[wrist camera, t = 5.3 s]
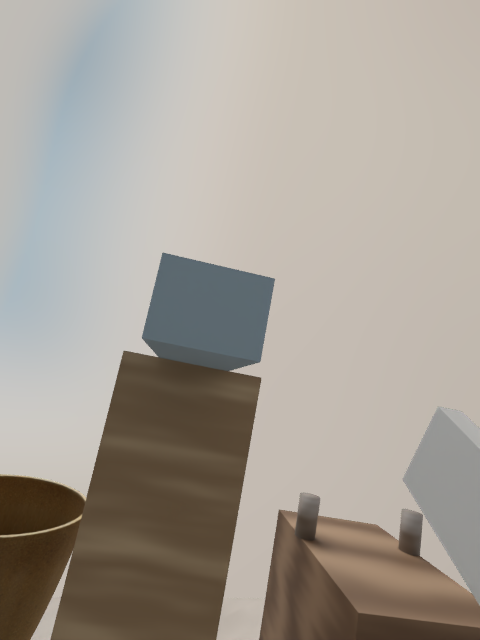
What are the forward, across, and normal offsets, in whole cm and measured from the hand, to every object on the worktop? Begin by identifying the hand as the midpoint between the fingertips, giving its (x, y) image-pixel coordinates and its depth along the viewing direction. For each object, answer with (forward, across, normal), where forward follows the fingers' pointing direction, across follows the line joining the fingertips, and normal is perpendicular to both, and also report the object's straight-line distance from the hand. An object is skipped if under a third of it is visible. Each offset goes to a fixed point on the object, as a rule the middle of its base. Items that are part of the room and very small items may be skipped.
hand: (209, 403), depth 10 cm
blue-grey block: (+12, 0, -5) cm, 13 cm away
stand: (+1, 0, -33) cm, 33 cm away
